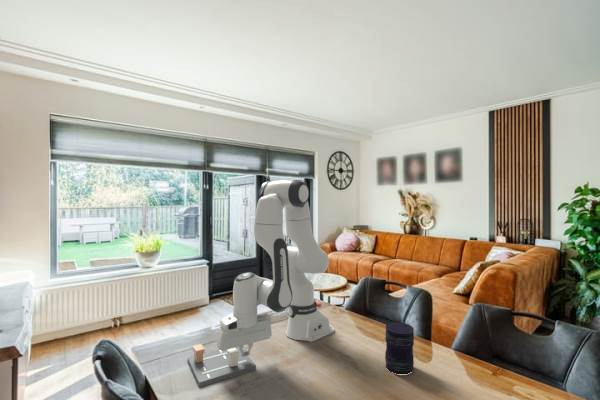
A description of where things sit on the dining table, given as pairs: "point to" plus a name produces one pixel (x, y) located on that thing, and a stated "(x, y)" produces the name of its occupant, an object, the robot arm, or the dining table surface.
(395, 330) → the storage jar
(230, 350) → the cream fader
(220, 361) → the console
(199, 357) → the terracotta fader
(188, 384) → the dining table surface
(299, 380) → the dining table surface
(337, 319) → the dining table surface
